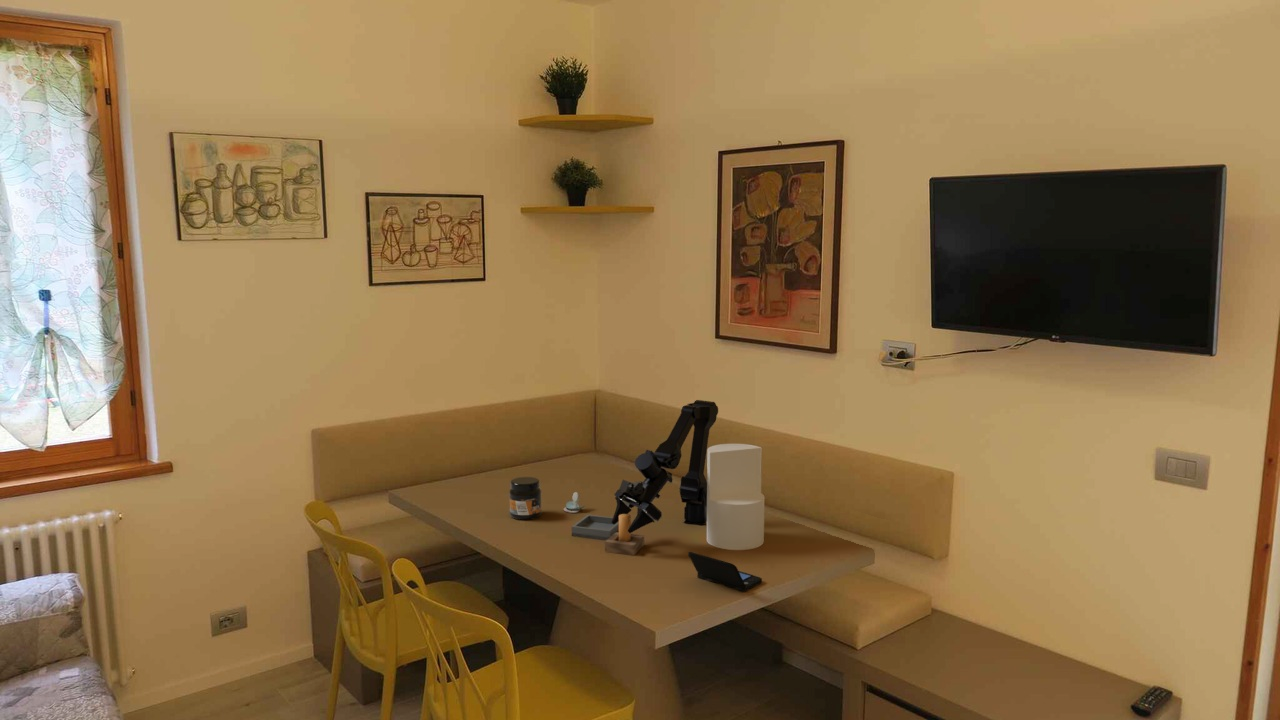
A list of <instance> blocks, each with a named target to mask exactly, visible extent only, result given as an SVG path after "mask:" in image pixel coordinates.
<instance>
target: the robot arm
mask: <svg viewBox="0 0 1280 720" xmlns="http://www.w3.org/2000/svg"><path fill="white" fill-rule="evenodd" d="M718 407H719V406H718V405H717V404H716V402H715V401H709V400H701V399H696V400H694V401H693V402H690V403H687V404H686V405H683V406H681V411H680V415H679V416H678V418H677V421H676V422H675V424H674V426H673V428H672V429H671V431H670V434H669V435H668V437H667V438H666V440H665V441H663V442H662V443H660V444H659V445H658V447H657V448H656V449H655V451H653V450H650V449H646V450H645V452H644V453H641V454H640V455H638V456H637V457H636V458H635V461H634V466H635V468H636V469H637V471H639V473H640V474H641V475H642V476H643V477H644V478H645V479H644V480H643V481H640V480H639V481H635V482H631V481H629V480H625V479H622V481H621V483H620V486H619V489H617V490H616V492H615V493H614V494H613V495H614V496H615V497H614V498H615V500H616V508H615V511H614V514H613V519H612V523H613V524H616V523H617V522H618V521H619V515H621V514H629V513H630V512H631V511H632V508H634V507H636V508H637V509H636V510H637V513H636V517H634V519H633V521H632V522H631V525H630V527H629V529H628V532H629V533H631V534H632V533H633V532H635V531H637V530H639V529H640V528H642V527H645V526H647V525H649V524H651V523H655V521H656V522H659V521H660V519H661V518H662V515H663V514H662V511H661V509H660V508H658V507H657V506H656V505H654V503H653V501H654V500H655V499H659V498H660V497H661V495H660V494H659V493H660V492H661V490H662V489H663V488H664V486H665V485H666V484H667V483H670V484H672V483H673V473H672V472H670V471H668V470H666V469H669V470H675V469H677V468H678V467H679V464H680V461H681V458H682V447H683V445H684V443H685V441H686V439H687V438H688V435H689V433H690V431H691V430H692V427H694V428H693V436H692V442H691V448H690V449H691V450H690V457H689V465H688V471H687V472H686V474H685V475H684V476H681V479H680V485H679V495H680V499H681V503H685V506H684V510H683V511H684V515H683V517H684V522H683V523H684V524H689V525H699V526H700V525H701V526H704V525H705V524H707V477H706V476H705V474H704V473H705V465H706V459H707V449H708V443H709V437H710V430H711V428H712V427H713V425H714V424H715V423H716V421H717V417H718V415H719V408H718Z"/></svg>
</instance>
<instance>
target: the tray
mask: <svg viewBox="0 0 1280 720" xmlns="http://www.w3.org/2000/svg"><path fill="white" fill-rule="evenodd" d="M612 519H613V517H612V516H603V515H595V514H587V515H585V516H584V517H582V518H581V519H580V520H579V521H577V522H576V523H574V524H573V525H572V526H571V536H572V537H576V536H577V537H578V538H586V539H593V540H602V541H606V540H608V539H609V538H610V537H611V536H612V535H613V534H615V533H616V532H619V521H618V522H617V523H616V524H613V523H612Z"/></svg>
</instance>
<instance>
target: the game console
mask: <svg viewBox="0 0 1280 720" xmlns="http://www.w3.org/2000/svg"><path fill="white" fill-rule="evenodd" d="M688 557H689V559H690V561H691V563H692V564H693V567H694V568H695V571H696V572H697V576H696V577H697V578H698V579H700V580H703V581H707V582H709V583H713V584H719V585H721V586H722V585H723V586H724V587H727V588H729V589H733V590H735V591H738V592H741V593H745V592H747V591H749V590H750V589H752V588H754V587H756V586H758V585H760V584H762V582H763V580H762V579H763V578H762V577H760V576H756V575H754V574H751V573H748V572H744V571H740V570H738V567H737V566H736V565H735V564H734V563H731V562H728V561H724V560H721V559H717V558H714V557H711V556H710V557H709V556H706V555H703V554H699V553H695V552H694V551H693V552H692V551H689V552H688Z"/></svg>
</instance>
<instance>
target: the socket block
mask: <svg viewBox="0 0 1280 720" xmlns="http://www.w3.org/2000/svg"><path fill="white" fill-rule="evenodd" d="M644 546H645V535H642V534H635V533H633V534H632V533H631V542H623V541H619V532H616V533H615V534H613V535H612V536H611V537H610V538H609V539H608V540H604V552H605V551H606V552H607V553H612V552H613V553H612V554H621V555H629V556H635V555H636V554H637V553H638V552H639V550H641V549H642V548H643V547H644ZM606 552H605V553H606Z"/></svg>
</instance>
